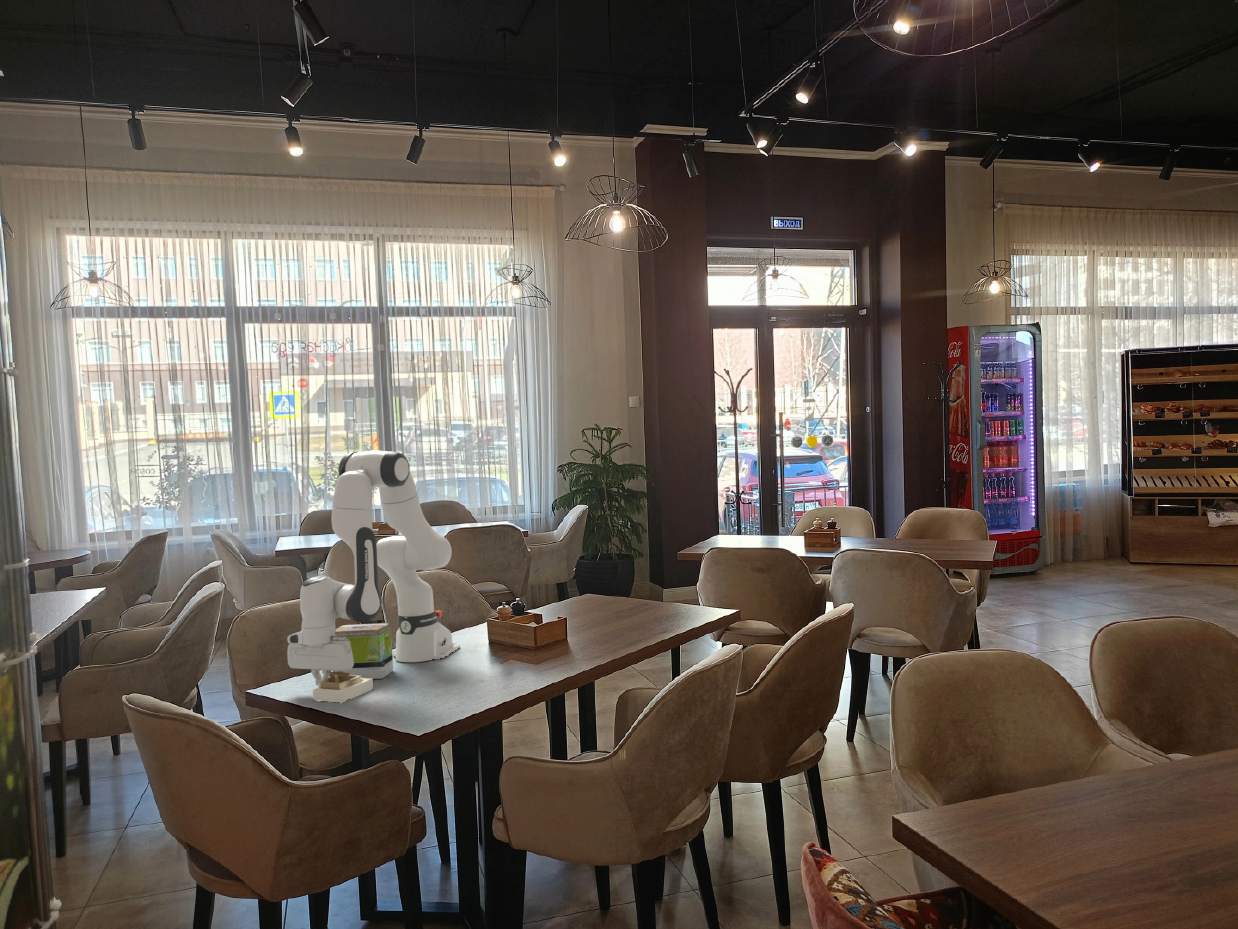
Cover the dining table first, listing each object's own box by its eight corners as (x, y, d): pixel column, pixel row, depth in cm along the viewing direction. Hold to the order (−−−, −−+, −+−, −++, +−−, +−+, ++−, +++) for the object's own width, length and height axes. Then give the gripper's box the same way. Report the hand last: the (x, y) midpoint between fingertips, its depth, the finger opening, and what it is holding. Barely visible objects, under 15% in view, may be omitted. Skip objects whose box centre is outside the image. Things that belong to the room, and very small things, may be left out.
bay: (345, 687, 245) (345, 676, 245) (373, 689, 241) (372, 678, 241) (313, 701, 233) (312, 690, 233) (341, 703, 229) (341, 692, 229)
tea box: (394, 670, 261) (391, 622, 261) (381, 680, 251) (378, 629, 251) (346, 672, 262) (343, 623, 262) (332, 681, 252) (329, 631, 252)
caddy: (339, 690, 242) (337, 668, 242) (362, 691, 239) (360, 669, 239) (319, 698, 235) (317, 676, 235) (342, 700, 232) (341, 677, 232)
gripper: (357, 634, 238) (360, 684, 239) (298, 631, 246) (301, 680, 246) (341, 639, 233) (345, 690, 233) (282, 636, 240) (285, 686, 241)
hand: (322, 685), depth 240 cm, fingers closed
